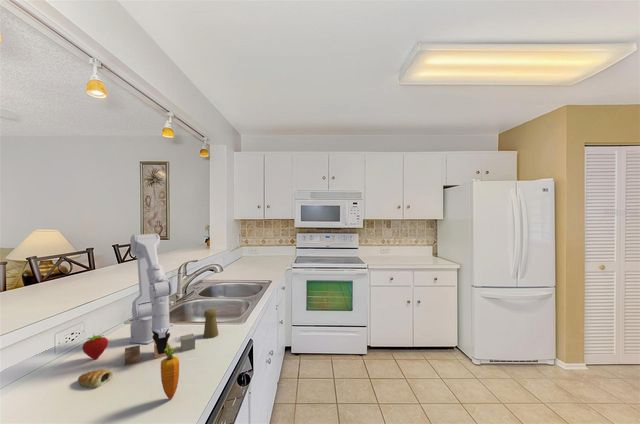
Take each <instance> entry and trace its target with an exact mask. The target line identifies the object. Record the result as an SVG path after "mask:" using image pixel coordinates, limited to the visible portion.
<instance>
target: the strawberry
mask: <svg viewBox="0 0 640 424" xmlns="http://www.w3.org/2000/svg"><path fill="white" fill-rule="evenodd" d="M104 336H105V335H103V334H102V335H95V333H93V335H92V337H88V338H87V340H86V341H85V342H84V343H83V344H82V350H83V353H84V354H86V356H88V357H89V358H91V359H92V360H98V359H99V358H100V356H101V355H103V354H104V351H105V350H106V349H107V347H108V344H109V340H108V338H106V337H104Z"/></svg>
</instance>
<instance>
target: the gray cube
mask: <svg viewBox="0 0 640 424" xmlns="http://www.w3.org/2000/svg"><path fill="white" fill-rule="evenodd" d="M195 349H196V337H195V335H194V333H189V334H185V335H180V350H181V352H182V353H185V352H189V351H192V350H195Z"/></svg>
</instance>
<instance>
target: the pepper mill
mask: <svg viewBox="0 0 640 424" xmlns="http://www.w3.org/2000/svg"><path fill="white" fill-rule="evenodd" d="M203 315H204V316H203V317H204V318H205V320H204V331H203V338H205V339H211V338H212V339H213V338H216V337H218V336H219V330H218V324H217V315H218V311H217V309H215V308H208V309H206V310H204V312H203Z"/></svg>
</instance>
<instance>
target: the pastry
mask: <svg viewBox="0 0 640 424" xmlns="http://www.w3.org/2000/svg"><path fill="white" fill-rule="evenodd" d="M113 376H114V373H113V371H112V370H111V369H104V368H100V369H95V370H94V369H93V370H91V371H88V372H86V373H82V374H81V375H80V376H78V378H77V382H78V383H79V384H80V385H82V386H83V388H89V389H90V388H91V389H98V388H101V387H102V386H103V385H105V384H106V383H107V382H109V381H110V380H111V379H113Z"/></svg>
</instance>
